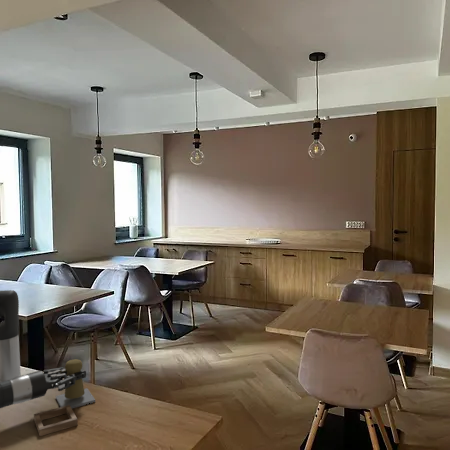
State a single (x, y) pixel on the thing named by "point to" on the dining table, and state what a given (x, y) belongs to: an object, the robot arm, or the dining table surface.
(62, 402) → the slate tile
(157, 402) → the dining table surface
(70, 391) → the cork
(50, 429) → the wooden square frame
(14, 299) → the robot arm
